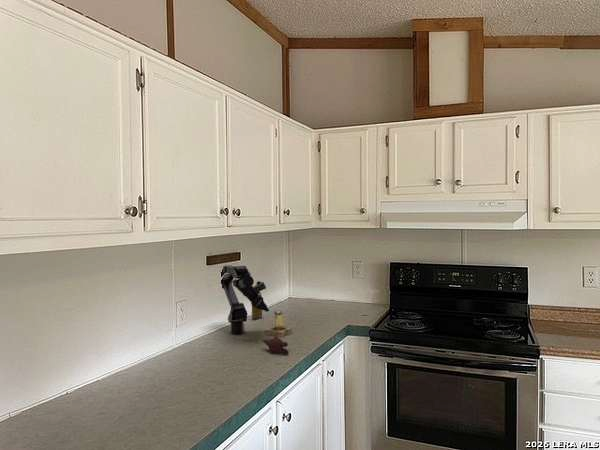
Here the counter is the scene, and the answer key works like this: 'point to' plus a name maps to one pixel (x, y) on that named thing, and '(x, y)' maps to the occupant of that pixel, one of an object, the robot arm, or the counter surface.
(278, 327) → the pin
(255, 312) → the condiment
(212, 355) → the counter surface
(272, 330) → the socket
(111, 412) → the counter surface
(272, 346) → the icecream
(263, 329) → the mount mat
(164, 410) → the counter surface
